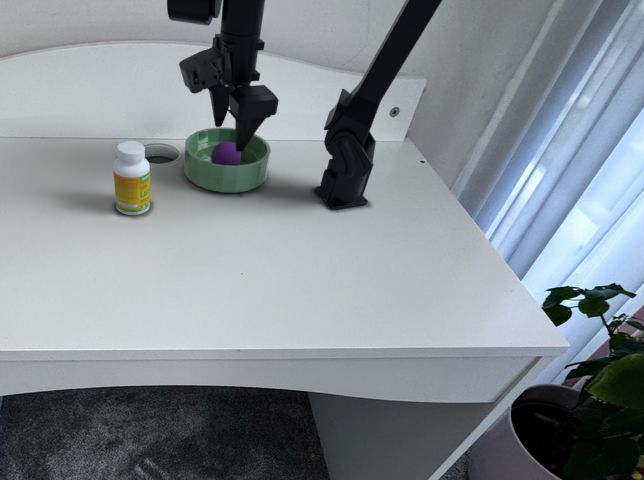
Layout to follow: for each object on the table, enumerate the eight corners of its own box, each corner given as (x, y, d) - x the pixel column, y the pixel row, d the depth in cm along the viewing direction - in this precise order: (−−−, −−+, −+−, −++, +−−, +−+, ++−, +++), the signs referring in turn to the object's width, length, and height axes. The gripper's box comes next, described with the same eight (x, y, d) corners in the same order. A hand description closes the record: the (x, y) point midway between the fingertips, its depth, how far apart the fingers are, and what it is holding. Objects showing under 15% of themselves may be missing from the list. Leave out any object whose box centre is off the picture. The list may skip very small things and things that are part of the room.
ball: (232, 162, 89) (235, 134, 85) (243, 176, 86) (247, 147, 82) (206, 166, 88) (208, 137, 84) (216, 179, 84) (219, 151, 81)
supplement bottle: (145, 218, 77) (144, 158, 70) (111, 213, 78) (107, 153, 70) (153, 200, 81) (153, 141, 73) (121, 195, 81) (117, 136, 74)
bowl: (246, 150, 93) (249, 123, 90) (279, 189, 84) (285, 161, 81) (173, 159, 90) (174, 132, 86) (200, 201, 81) (202, 172, 77)
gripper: (166, 13, 75) (165, 119, 87) (210, 56, 63) (201, 172, 75) (235, 10, 78) (224, 113, 89) (289, 50, 66) (269, 163, 77)
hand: (228, 138), depth 83 cm, fingers open, 9 cm apart
